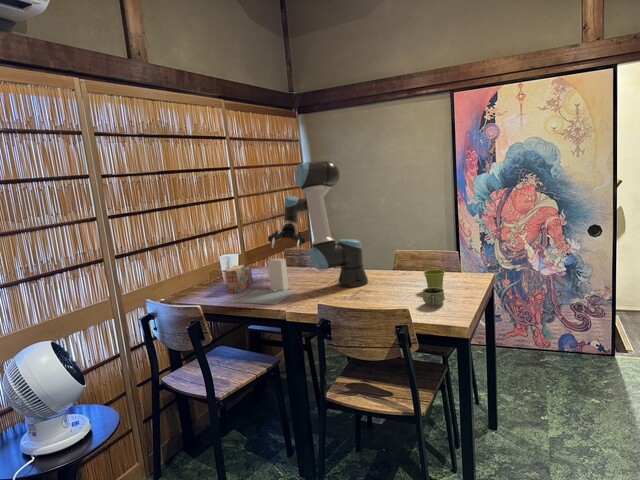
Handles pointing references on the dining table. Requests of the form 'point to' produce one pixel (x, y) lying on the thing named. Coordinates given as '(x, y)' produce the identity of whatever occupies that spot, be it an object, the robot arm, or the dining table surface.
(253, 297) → the rubber mat
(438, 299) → the vessel
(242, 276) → the multicoloured rectangular box
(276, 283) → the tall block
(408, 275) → the dining table surface
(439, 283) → the plant pot
